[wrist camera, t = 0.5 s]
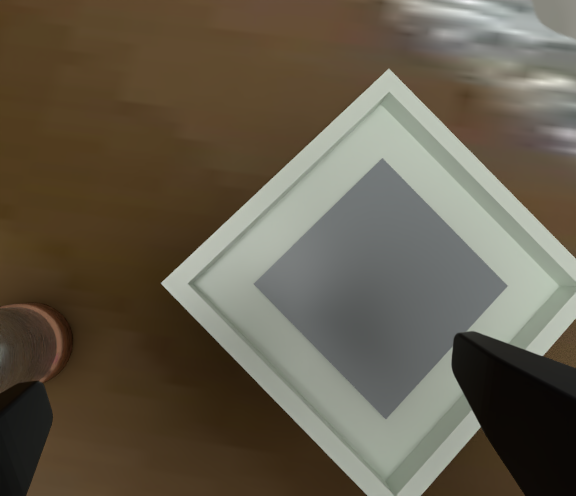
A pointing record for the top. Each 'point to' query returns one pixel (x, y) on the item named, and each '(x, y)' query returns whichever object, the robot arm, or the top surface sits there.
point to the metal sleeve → (32, 343)
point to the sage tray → (378, 287)
